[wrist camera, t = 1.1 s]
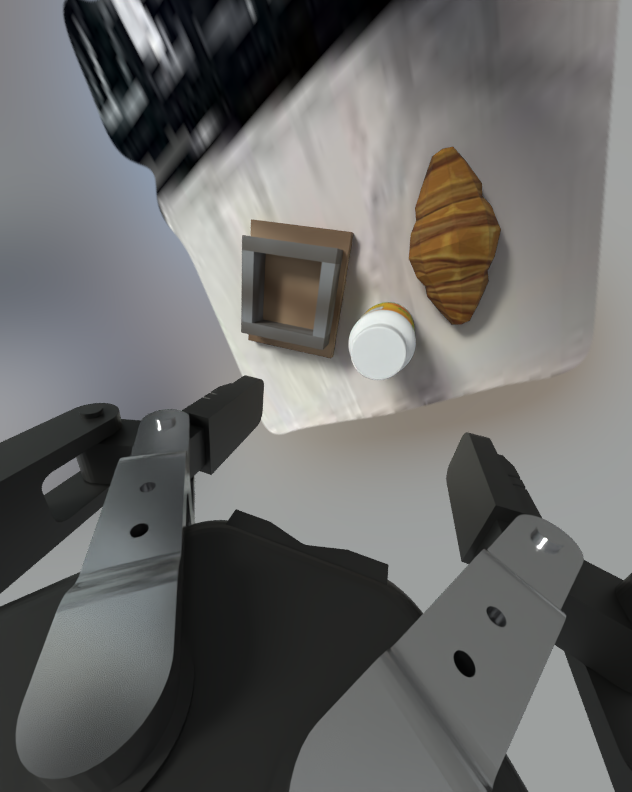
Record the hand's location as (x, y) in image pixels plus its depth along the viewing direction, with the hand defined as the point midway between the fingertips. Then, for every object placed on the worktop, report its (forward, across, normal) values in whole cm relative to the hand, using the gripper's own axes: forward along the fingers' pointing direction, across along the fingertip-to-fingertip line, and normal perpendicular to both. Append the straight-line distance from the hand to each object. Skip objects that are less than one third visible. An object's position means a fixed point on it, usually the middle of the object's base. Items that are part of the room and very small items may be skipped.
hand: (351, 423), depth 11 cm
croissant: (+20, -4, -8) cm, 22 cm away
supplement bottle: (+20, 0, 0) cm, 20 cm away
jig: (+20, +10, -2) cm, 22 cm away
